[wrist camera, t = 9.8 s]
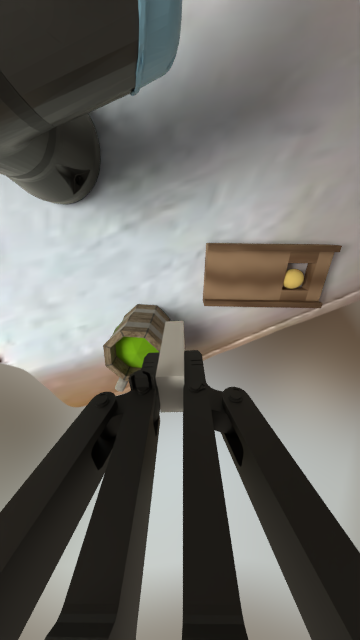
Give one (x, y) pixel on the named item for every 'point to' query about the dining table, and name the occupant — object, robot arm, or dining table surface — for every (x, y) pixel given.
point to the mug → (134, 341)
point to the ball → (293, 278)
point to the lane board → (264, 274)
